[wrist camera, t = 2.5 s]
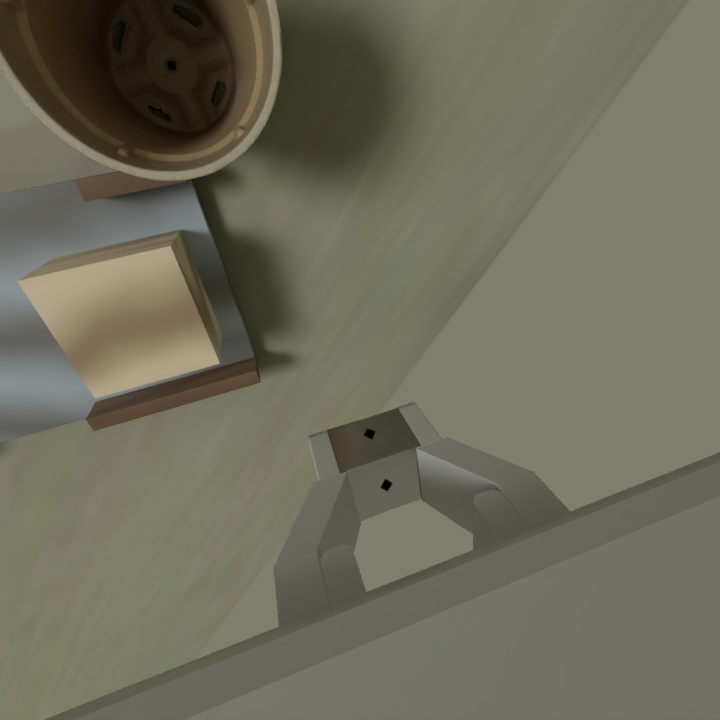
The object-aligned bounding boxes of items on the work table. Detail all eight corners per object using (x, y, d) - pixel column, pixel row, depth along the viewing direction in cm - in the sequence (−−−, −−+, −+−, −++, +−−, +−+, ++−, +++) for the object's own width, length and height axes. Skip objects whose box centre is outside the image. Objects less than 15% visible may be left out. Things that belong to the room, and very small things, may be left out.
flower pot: (269, 174, 24) (285, 187, 16) (93, 164, 21) (20, 173, 14) (261, -33, 19) (278, -141, 12) (38, -79, 17) (-112, -251, 9)
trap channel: (-329, 258, 18) (-418, 275, 16) (184, 158, 22) (178, 160, 20) (-99, 463, 26) (-135, 497, 23) (257, 362, 29) (260, 382, 27)
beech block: (54, 257, 22) (17, 280, 18) (180, 229, 23) (170, 246, 19) (115, 361, 25) (95, 398, 22) (221, 332, 26) (220, 363, 23)
